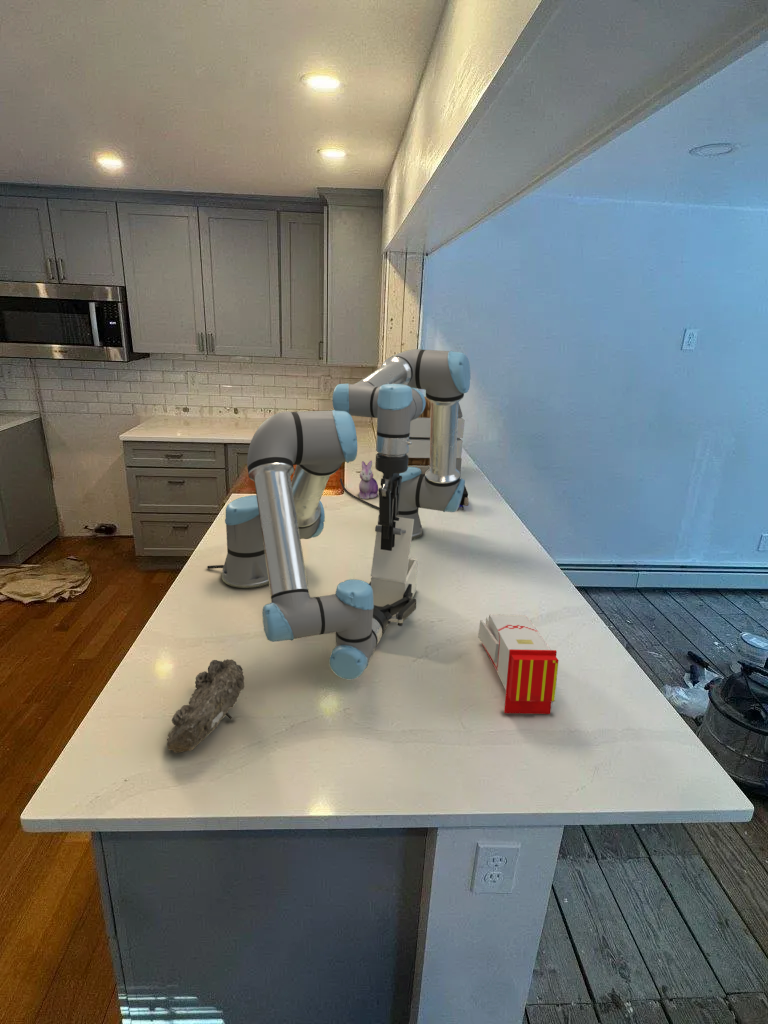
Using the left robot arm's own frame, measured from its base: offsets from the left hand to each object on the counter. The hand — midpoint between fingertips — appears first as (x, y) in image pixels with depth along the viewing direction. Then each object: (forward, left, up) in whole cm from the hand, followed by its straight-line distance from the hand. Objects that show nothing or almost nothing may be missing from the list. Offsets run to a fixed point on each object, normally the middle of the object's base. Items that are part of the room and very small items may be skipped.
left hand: (391, 585), depth 149 cm
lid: (0, -1, +11) cm, 11 cm away
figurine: (-33, +87, -6) cm, 93 cm away
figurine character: (+5, +90, -6) cm, 90 cm away
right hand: (0, -7, +14) cm, 15 cm away
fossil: (-22, -52, -6) cm, 57 cm away
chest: (0, +3, -6) cm, 7 cm away
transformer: (-20, +131, -6) cm, 133 cm away
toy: (+32, -20, -6) cm, 38 cm away
